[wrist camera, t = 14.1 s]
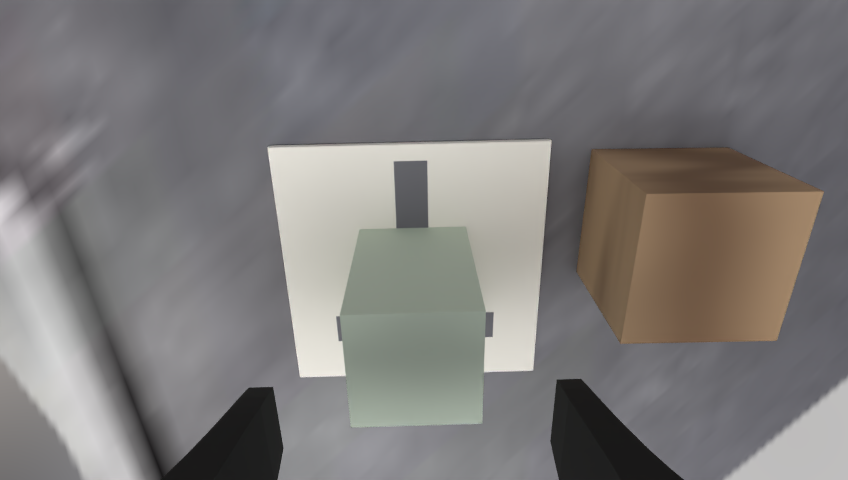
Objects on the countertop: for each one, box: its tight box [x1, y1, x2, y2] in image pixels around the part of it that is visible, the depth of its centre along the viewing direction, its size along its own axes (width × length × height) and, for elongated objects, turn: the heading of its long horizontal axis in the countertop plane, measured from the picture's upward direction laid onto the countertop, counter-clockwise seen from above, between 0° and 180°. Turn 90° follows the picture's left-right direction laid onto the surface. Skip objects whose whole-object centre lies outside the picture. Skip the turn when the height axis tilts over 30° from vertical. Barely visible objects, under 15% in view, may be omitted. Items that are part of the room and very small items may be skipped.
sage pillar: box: [340, 227, 486, 428], centre depth 18 cm, size 4×4×6 cm
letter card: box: [268, 139, 551, 377], centre depth 21 cm, size 10×10×1 cm
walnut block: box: [576, 148, 824, 344], centre depth 18 cm, size 5×5×5 cm
